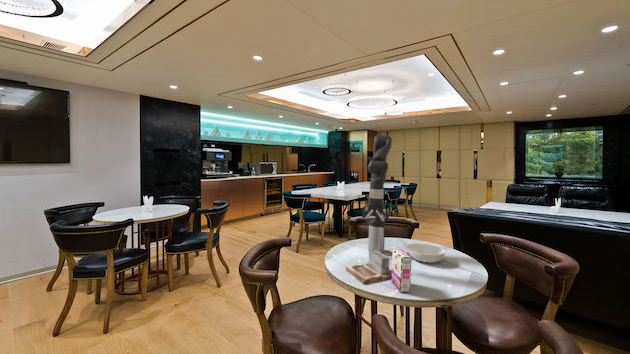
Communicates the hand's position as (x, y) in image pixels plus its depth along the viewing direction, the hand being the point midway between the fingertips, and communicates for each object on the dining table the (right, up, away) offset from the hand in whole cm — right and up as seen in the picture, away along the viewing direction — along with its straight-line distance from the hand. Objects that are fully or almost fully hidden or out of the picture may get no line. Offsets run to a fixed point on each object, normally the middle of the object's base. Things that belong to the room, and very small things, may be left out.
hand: (374, 226), depth 144 cm
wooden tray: (-4, -23, -7) cm, 25 cm away
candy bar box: (+8, -25, -20) cm, 33 cm away
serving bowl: (+33, -23, +14) cm, 43 cm away
